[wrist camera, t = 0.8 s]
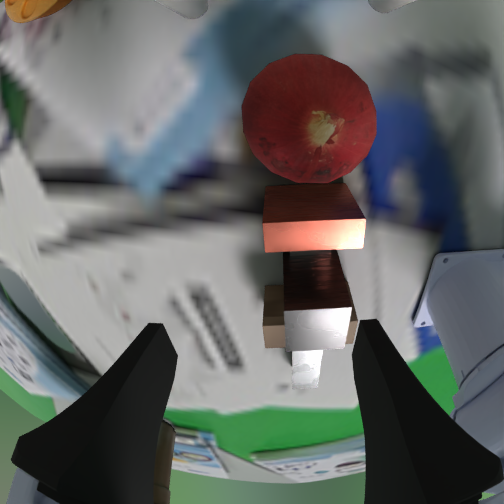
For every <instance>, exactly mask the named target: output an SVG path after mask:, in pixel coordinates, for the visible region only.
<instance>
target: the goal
mask: <svg viewBox="0 0 504 504" xmlns="http://www.w3.org/2000/svg"><path fill="white" fill-rule="evenodd" d="M154 1H156V2H158V3H160V4H162V5H164V6H165V7H167V8H169V9H171V10H173V11H174V12H176V13H178V14H180V15H182V16H183V17H185V18H187V19H196V18H199V17H201V16H202V15H203V14H204V13H205V12H206V11H207V8H208V3H207V1H206V0H154ZM368 1H369V4H370V5H371V6H372V7H373V8H374V9H375V10H376V11H378V12H381V13H389V12H391V11H393V10H395V9H397V8H400V7H402V6H404V5H406V4H409V3H411V2H413V1H416V0H368Z"/></svg>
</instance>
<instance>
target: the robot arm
mask: <svg viewBox="0 0 504 504" xmlns="http://www.w3.org/2000/svg"><path fill="white" fill-rule="evenodd" d="M445 258H446V259H445ZM444 259H445V260H444ZM413 325H414V327H424V326H430V325H434V326H435V329H436V331H437V333H438V336H439V338H440V341H441V343H442V345H443V348H444V350H445V353H446V355H447V358H448V361H449V363H450V366H451V369H452V371H453V374H454V377H455V380H456V383H457V386H458V389H459V391H458V392H457V393H456V394H455V395H454V396H453V397H452V398H453V401H454V404H455V408H454V409H453V410H452V412H451V414H450V416H449V415H448V414H447V413H446V412H445V411H444V410H443V409H442V408H441V407H440V405H439V404H438V403H437V402H436V401H435V400H434V399H433V398H432V396H431V395H430V394H429V393H428V392H427V390H426V389H425V388H424V387H423V385H422V384H421V383H420V381H419V380H418V379H417V378H416V376H415V375H414V373H413V372H412V371H411V369H410V368H409V367H408V365H407V364H406V362H405V361H404V359H403V358H402V357H401V355H400V354H399V352H398V351H397V349H396V348H395V346H394V345H393V343H392V342H391V340H390V339H389V337H388V335H387V334H386V332H385V331H384V329H383V327H382V326H381V324H380V323H379V321H378V320H377V319H369V320H360V323H359V328H358V332H357V336H356V340H355V344H354V348H353V352H352V360H353V371H354V380H355V385H356V390H357V395H358V400H359V406H360V411H361V416H362V422H363V428H364V435H365V453H366V484H365V501H364V504H504V249H495V250H480V251H466V252H450V253H439V254H437V255H436V256H435V257H434V260H433V264H432V267H431V270H430V274H429V277H428V280H427V283H426V287H425V290H424V293H423V296H422V299H421V301H420V304H419V307H418V310H417V313H416V315H415V318H414V321H413ZM177 358H178V355H177V353H176V351H175V349H174V347H173V344H172V342H171V340H170V338H169V336H168V334H167V332H166V329H165V327H164V325H163V324H161V323H148V324H147V326H146V327H145V328H144V329H143V330H142V331H141V332H140V334H139V335H138V336H137V337H136V338H135V340H134V341H133V342H132V343H131V344H130V345H129V347H128V348H127V349H126V350H125V351H124V352H123V354H122V355H121V356H120V357H119V358H118V359H117V361H116V362H115V363H114V364H113V365H112V366H111V367H110V368H109V369H108V371H107V372H106V373H105V374H104V375H103V376H102V377H101V378H100V379H99V380H98V381H97V382H96V383H95V384H94V385H93V386H92V387H91V388H90V389H89V390H88V391H87V392H86V393H85V394H84V395H82V396H81V397H80V398H79V399H78V400H77V401H75V402H74V403H73V404H72V405H70V406H69V407H68V408H66V409H65V410H64V411H63V412H61V413H60V414H58V415H57V416H56V417H54V418H53V419H51V420H50V421H48V422H46V423H45V424H43V425H41V426H40V427H38V428H36V429H34V430H32V431H30V432H29V433H26V434H24V435H22V436H20V437H19V439H18V441H17V444H16V447H15V450H14V452H13V455H12V458H11V461H12V463H13V464H15V465H16V466H17V467H19V468H17V470H16V472H15V476H14V479H13V482H12V485H11V489H10V492H9V496H8V499H7V503H6V504H154V501H153V485H154V468H155V458H156V449H157V442H158V436H159V431H160V426H161V423H162V419H163V416H164V412H165V409H166V405H167V402H168V399H169V395H170V392H171V388H172V385H173V381H174V377H175V371H176V365H177ZM482 492H486V493H492V494H496V495H494V496H491V497H489V498H487V499H483V500H480V501H478V500H479V499H481V498H482Z"/></svg>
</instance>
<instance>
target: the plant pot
mask: <svg viewBox="0 0 504 504" xmlns="http://www.w3.org/2000/svg"><path fill="white" fill-rule="evenodd" d="M175 436H176V432H175V431H173V428H172V427H171V426H170V425H168V424H167V423H165V422H164V421H162V423H161V426H160V431H159V436H158V442H157V449H156V458H155V468H154V485H153V501H154V504H169V503H170V491H169V484H170V474H171V466H172V458H173V451H174V443H175Z"/></svg>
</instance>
